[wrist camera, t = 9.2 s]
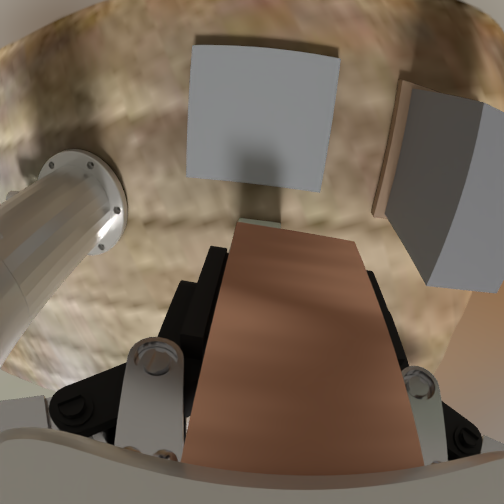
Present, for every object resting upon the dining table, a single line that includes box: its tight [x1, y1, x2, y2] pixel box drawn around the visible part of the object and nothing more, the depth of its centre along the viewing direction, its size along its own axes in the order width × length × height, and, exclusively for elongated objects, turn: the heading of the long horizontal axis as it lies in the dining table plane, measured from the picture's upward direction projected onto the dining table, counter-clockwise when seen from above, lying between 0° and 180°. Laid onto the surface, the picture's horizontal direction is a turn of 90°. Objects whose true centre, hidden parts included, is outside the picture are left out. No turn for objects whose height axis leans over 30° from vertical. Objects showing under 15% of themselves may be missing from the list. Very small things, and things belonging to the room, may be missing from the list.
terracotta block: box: [181, 222, 424, 476], centre depth 8 cm, size 4×4×8 cm
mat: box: [186, 45, 341, 193], centre depth 24 cm, size 12×12×1 cm
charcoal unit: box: [371, 80, 504, 293], centre depth 20 cm, size 9×13×12 cm
